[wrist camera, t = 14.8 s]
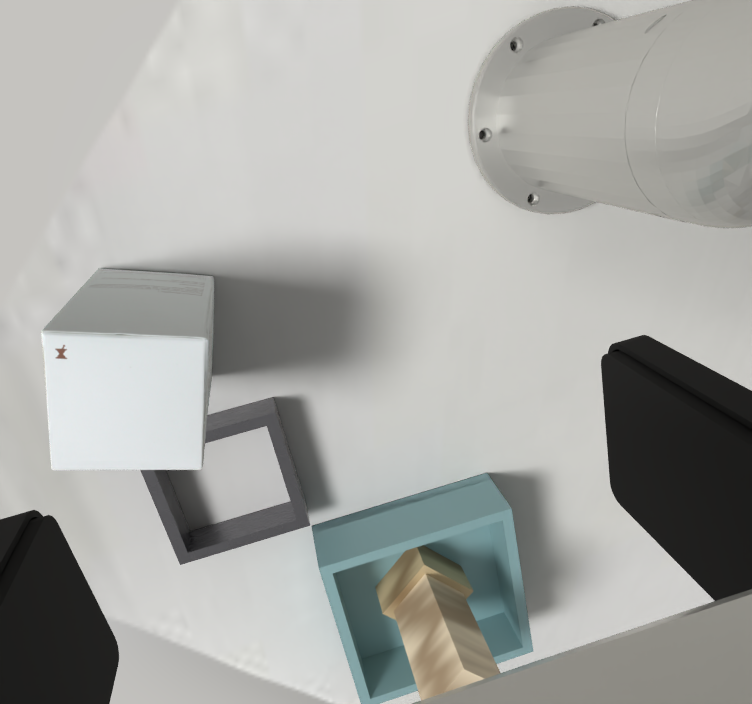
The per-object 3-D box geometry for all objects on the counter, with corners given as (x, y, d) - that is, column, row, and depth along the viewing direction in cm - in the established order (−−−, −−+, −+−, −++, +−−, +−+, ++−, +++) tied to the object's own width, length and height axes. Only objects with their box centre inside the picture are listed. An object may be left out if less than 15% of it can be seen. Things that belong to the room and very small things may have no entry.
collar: (273, 397, 44) (275, 412, 42) (306, 506, 48) (310, 525, 46) (138, 434, 43) (132, 452, 41) (183, 543, 47) (180, 564, 45)
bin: (486, 472, 50) (511, 508, 46) (509, 607, 56) (533, 651, 51) (311, 526, 49) (318, 568, 44) (352, 659, 54) (362, 709, 50)
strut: (414, 540, 50) (463, 659, 39) (461, 565, 52) (520, 686, 41) (375, 587, 51) (412, 716, 40) (422, 610, 53) (470, 740, 42)
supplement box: (98, 374, 41) (43, 474, 30) (97, 265, 39) (35, 326, 27) (213, 379, 43) (203, 475, 31) (218, 274, 41) (209, 336, 29)
